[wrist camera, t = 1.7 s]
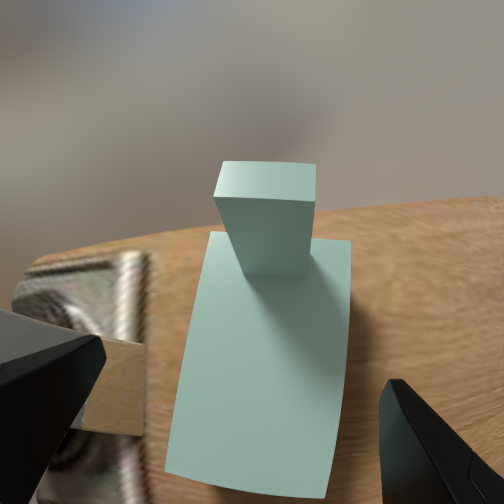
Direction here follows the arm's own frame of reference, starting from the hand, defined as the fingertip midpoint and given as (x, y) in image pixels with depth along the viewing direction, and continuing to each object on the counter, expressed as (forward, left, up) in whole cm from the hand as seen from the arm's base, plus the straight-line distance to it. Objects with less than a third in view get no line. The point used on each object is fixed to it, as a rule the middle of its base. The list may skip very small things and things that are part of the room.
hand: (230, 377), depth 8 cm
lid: (+1, -1, -10) cm, 10 cm away
